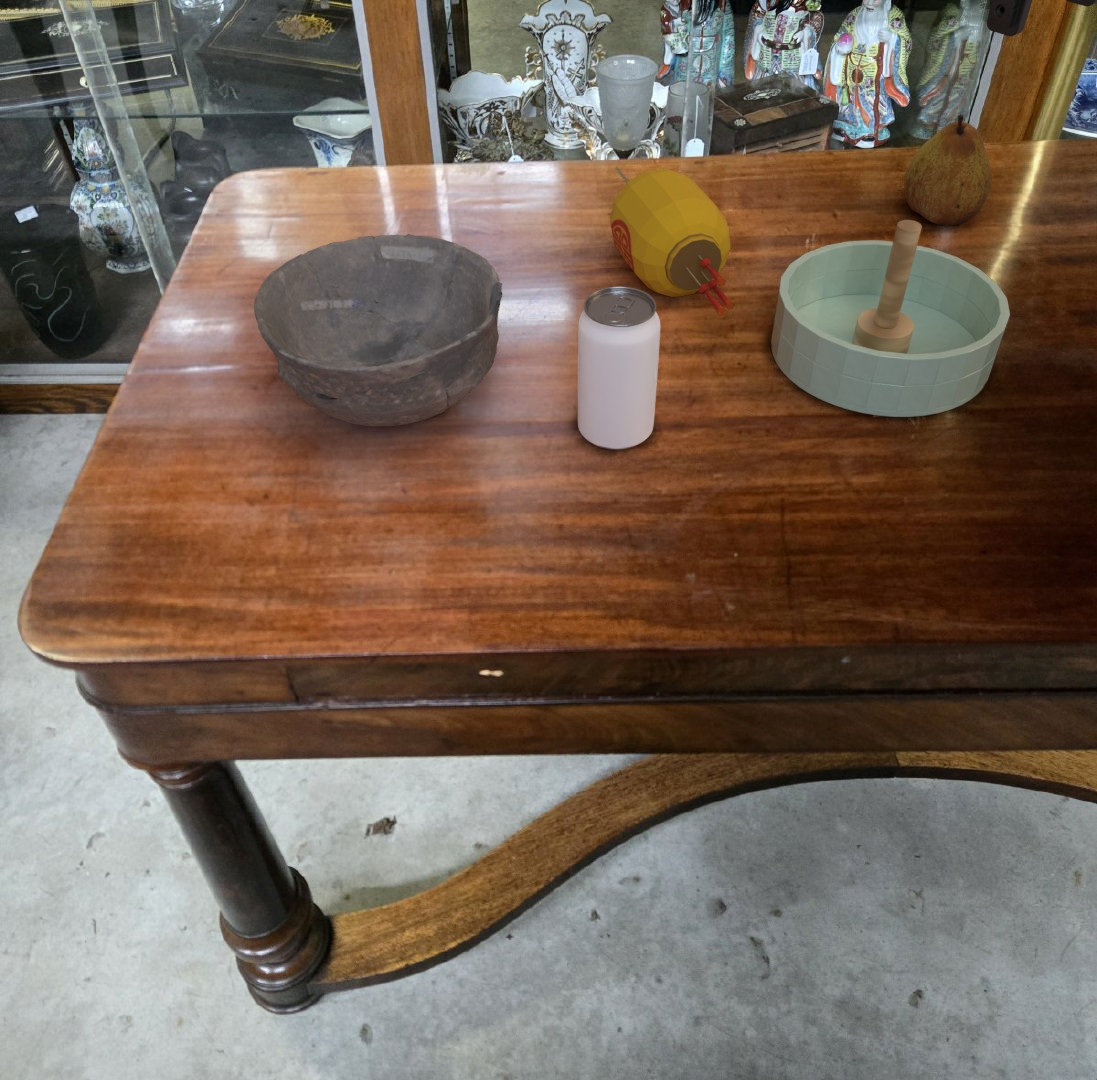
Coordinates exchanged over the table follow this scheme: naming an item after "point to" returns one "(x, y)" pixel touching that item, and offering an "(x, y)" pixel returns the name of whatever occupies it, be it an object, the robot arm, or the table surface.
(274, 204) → the table surface
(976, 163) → the fruit
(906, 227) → the wooden stamp
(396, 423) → the bowl
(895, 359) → the mixing bowl
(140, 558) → the table surface
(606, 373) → the can
